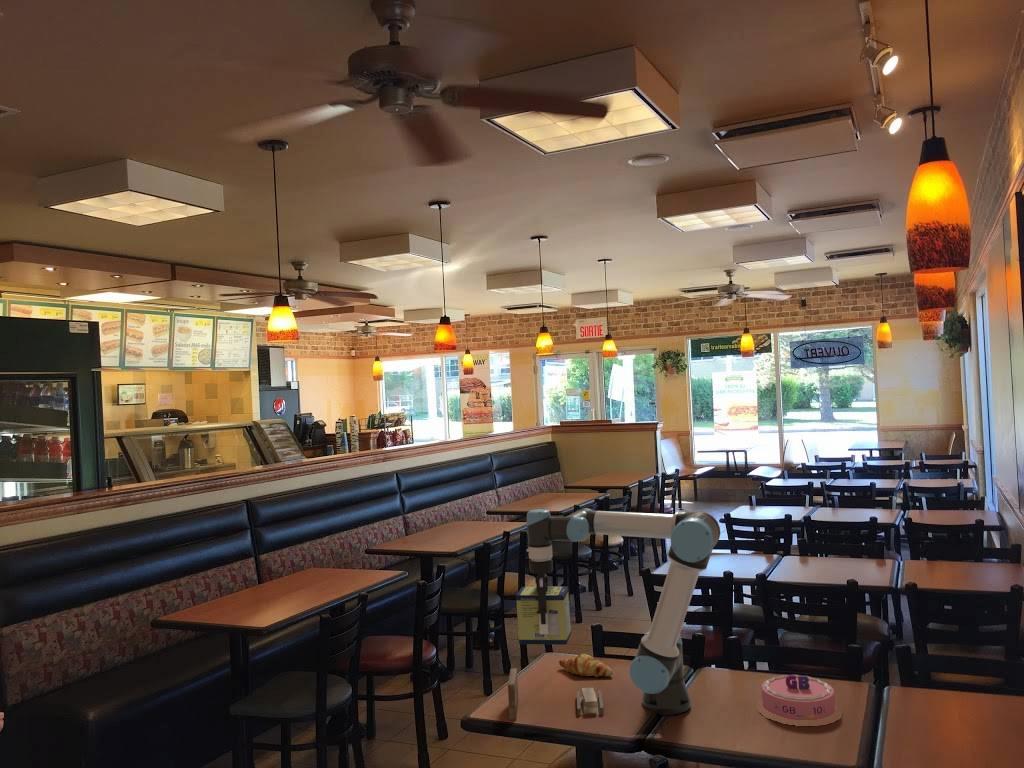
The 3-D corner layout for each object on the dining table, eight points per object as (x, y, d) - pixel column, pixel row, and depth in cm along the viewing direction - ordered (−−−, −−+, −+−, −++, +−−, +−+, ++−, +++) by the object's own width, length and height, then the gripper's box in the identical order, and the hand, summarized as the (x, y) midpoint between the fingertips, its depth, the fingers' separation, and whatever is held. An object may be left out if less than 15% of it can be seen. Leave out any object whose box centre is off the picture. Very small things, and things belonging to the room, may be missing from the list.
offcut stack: (596, 697, 257) (595, 686, 257) (597, 713, 245) (597, 701, 245) (582, 698, 257) (581, 687, 257) (583, 713, 245) (582, 701, 245)
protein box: (524, 634, 258) (521, 586, 258) (571, 634, 255) (568, 585, 255) (517, 644, 248) (515, 594, 248) (567, 645, 245) (564, 594, 245)
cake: (756, 725, 233) (754, 689, 233) (754, 692, 257) (753, 659, 257) (848, 730, 226) (846, 693, 226) (837, 696, 251) (835, 662, 251)
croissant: (616, 684, 278) (620, 661, 282) (605, 680, 271) (609, 656, 274) (563, 674, 290) (567, 652, 293) (551, 669, 282) (555, 646, 285)
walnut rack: (601, 699, 257) (599, 665, 257) (603, 717, 243) (601, 681, 243) (512, 702, 259) (510, 668, 259) (509, 720, 245) (507, 684, 245)
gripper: (530, 551, 264) (534, 617, 263) (527, 567, 240) (531, 640, 240) (552, 550, 263) (556, 616, 263) (552, 566, 240) (556, 639, 240)
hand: (544, 628), depth 252 cm, fingers closed on protein box, 11 cm apart
